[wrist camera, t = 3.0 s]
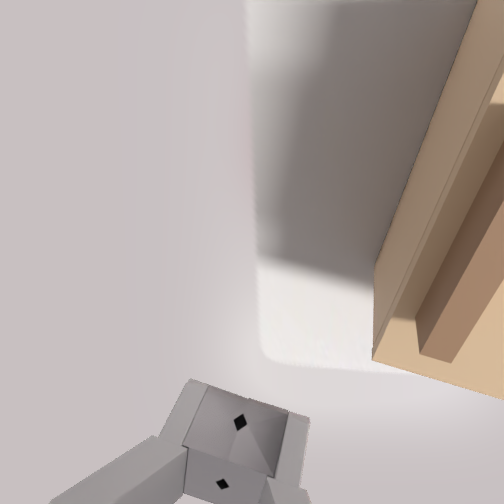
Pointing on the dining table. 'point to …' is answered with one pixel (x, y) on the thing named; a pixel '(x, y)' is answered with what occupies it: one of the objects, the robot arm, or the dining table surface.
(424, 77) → the dining table surface
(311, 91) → the dining table surface
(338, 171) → the dining table surface
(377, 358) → the lid
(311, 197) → the dining table surface
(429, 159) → the box
